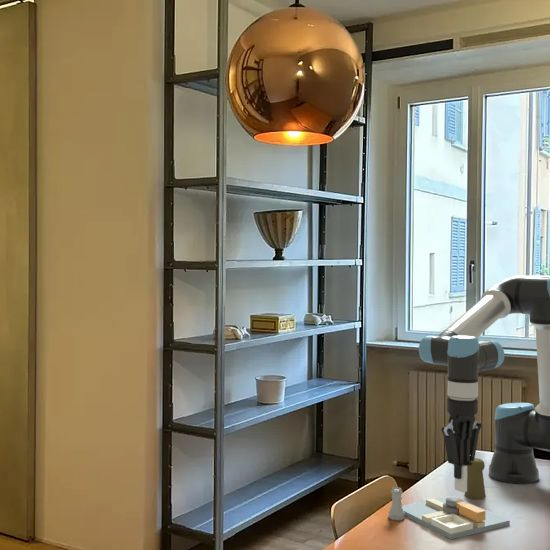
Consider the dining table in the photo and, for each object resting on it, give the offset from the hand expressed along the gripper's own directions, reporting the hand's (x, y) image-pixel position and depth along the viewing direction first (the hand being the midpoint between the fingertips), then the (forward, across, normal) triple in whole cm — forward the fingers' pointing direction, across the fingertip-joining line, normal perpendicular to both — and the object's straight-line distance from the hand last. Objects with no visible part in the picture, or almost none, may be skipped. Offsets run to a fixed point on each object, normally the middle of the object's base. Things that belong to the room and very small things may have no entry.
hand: (460, 490), depth 183 cm
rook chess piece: (+12, +5, -18) cm, 21 cm away
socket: (+10, 0, -3) cm, 10 cm away
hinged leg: (+8, -6, -4) cm, 11 cm away
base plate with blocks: (+11, -7, -9) cm, 16 cm away
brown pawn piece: (+11, -26, -16) cm, 33 cm away
